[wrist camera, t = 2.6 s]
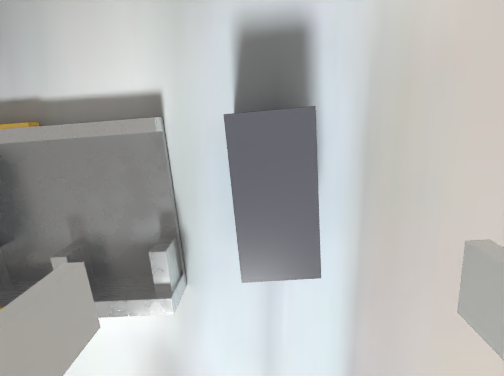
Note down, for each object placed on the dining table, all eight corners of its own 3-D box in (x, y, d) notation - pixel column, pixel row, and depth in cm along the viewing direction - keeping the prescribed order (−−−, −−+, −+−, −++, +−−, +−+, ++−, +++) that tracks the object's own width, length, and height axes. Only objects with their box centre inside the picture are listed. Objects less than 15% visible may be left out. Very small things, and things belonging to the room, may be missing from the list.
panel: (307, 239, 28) (321, 278, 22) (246, 243, 29) (241, 282, 22) (301, 108, 25) (315, 106, 19) (234, 114, 26) (223, 114, 19)
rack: (187, 284, 30) (172, 316, 25) (-74, 296, 31) (-134, 329, 27) (161, 112, 26) (138, 111, 21) (-138, 136, 27) (-223, 140, 22)
